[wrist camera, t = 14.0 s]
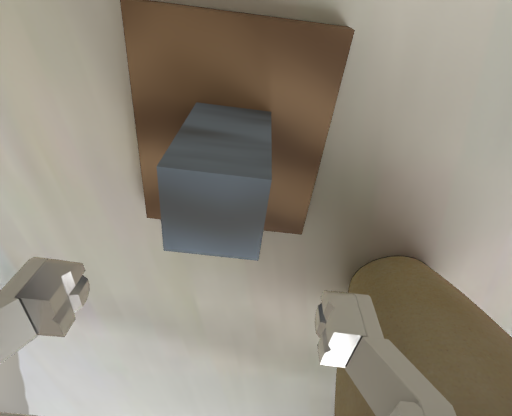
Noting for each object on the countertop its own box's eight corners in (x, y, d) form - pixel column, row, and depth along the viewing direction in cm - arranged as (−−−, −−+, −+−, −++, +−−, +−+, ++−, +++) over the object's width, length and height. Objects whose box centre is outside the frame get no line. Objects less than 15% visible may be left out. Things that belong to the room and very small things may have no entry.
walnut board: (300, 222, 25) (301, 234, 24) (153, 206, 25) (147, 217, 24) (348, 26, 17) (354, 30, 16) (131, -2, 17) (120, -1, 16)
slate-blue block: (261, 176, 21) (258, 260, 15) (196, 168, 21) (163, 250, 15) (271, 111, 19) (271, 179, 12) (196, 102, 18) (156, 166, 12)
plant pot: (481, 202, 24) (736, 465, 11) (468, 316, 32) (603, 544, 19) (291, 242, 27) (310, 483, 14) (323, 336, 35) (354, 544, 22)
